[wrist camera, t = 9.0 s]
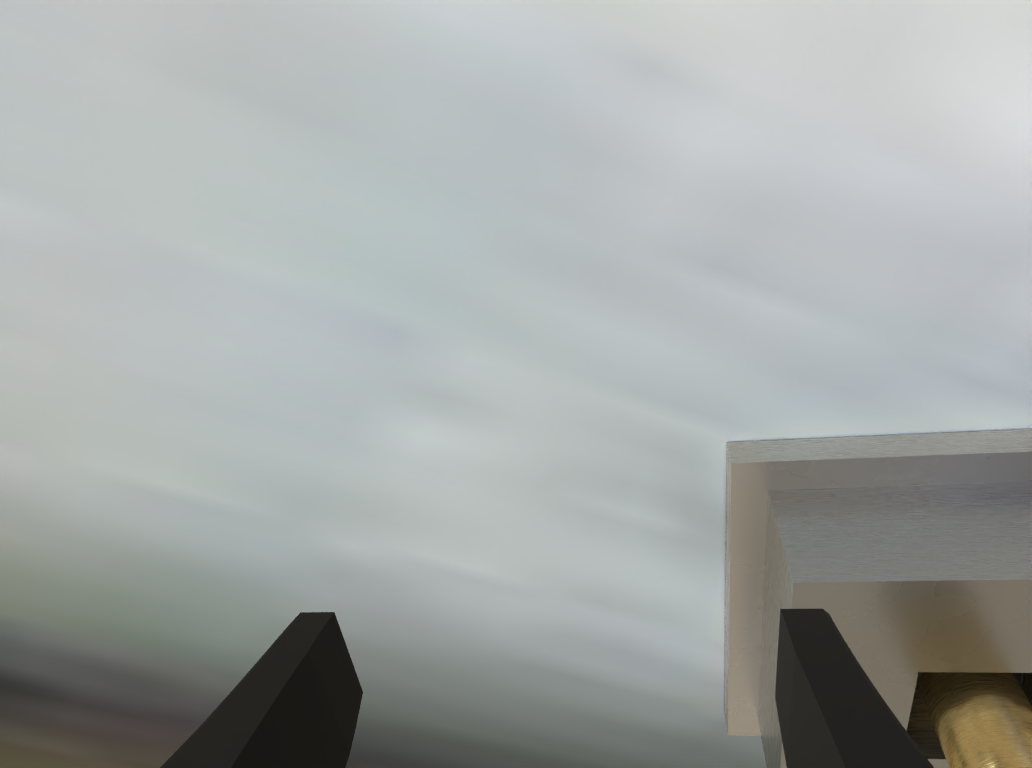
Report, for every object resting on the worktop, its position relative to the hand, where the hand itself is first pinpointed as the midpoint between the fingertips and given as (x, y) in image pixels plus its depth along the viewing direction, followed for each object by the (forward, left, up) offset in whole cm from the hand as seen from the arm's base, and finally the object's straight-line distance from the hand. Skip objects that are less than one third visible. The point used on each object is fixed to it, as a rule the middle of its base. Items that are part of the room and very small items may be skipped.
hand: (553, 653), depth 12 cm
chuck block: (-10, +9, -10) cm, 17 cm away
